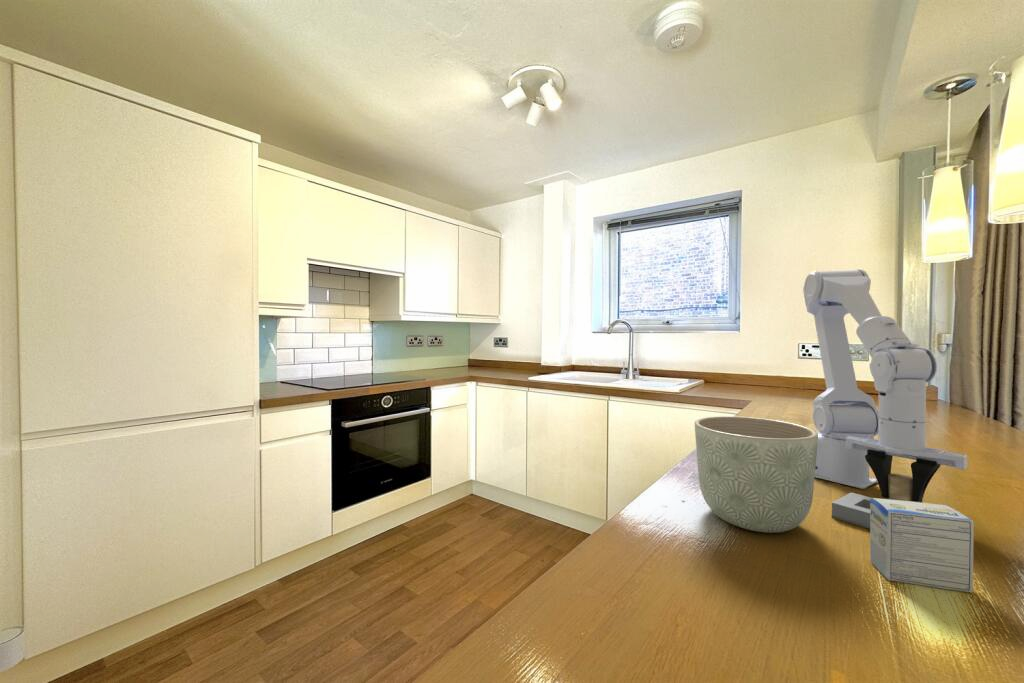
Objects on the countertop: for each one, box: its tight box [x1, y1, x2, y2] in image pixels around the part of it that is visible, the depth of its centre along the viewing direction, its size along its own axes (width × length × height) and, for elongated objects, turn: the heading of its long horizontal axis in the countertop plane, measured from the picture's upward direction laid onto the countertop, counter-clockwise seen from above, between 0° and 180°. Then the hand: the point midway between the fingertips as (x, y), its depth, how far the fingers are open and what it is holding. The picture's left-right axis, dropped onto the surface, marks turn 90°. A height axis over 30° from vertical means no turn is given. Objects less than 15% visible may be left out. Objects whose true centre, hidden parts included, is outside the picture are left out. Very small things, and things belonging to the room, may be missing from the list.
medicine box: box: [869, 497, 975, 593], centre depth 49 cm, size 8×4×9 cm, turn 71°
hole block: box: [831, 492, 873, 530], centre depth 64 cm, size 9×8×2 cm
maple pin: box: [887, 473, 913, 502], centre depth 67 cm, size 3×3×6 cm
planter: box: [694, 415, 819, 534], centre depth 64 cm, size 17×17×15 cm
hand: (901, 500), depth 67 cm, fingers closed on maple pin, 3 cm apart
